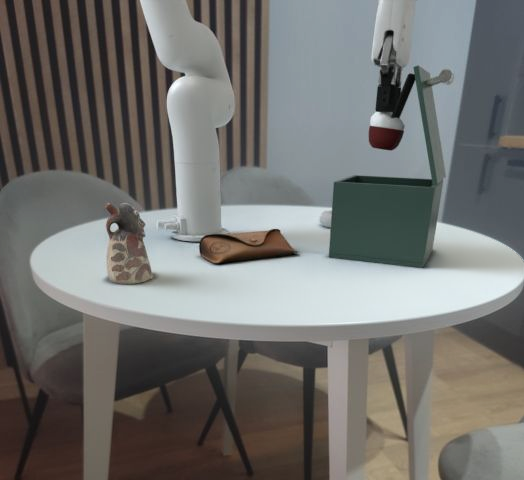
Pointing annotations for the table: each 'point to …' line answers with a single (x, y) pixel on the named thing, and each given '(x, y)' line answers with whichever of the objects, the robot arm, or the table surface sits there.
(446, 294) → the table surface
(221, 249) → the sunglasses case
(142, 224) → the figurine
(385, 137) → the cocoa
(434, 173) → the bin lid
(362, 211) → the trash bin
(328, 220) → the donut
